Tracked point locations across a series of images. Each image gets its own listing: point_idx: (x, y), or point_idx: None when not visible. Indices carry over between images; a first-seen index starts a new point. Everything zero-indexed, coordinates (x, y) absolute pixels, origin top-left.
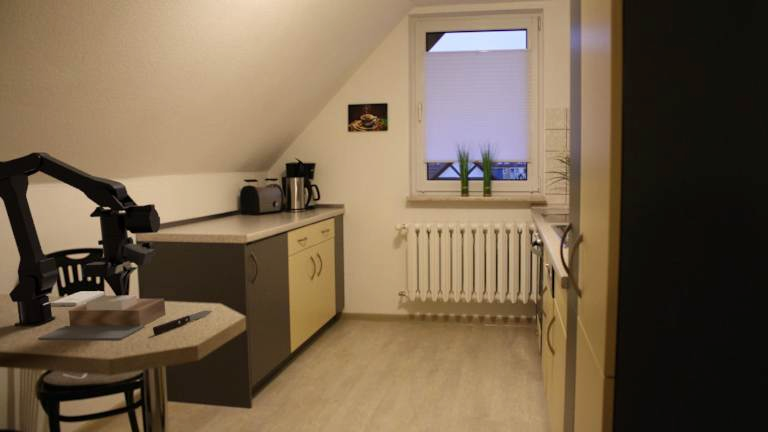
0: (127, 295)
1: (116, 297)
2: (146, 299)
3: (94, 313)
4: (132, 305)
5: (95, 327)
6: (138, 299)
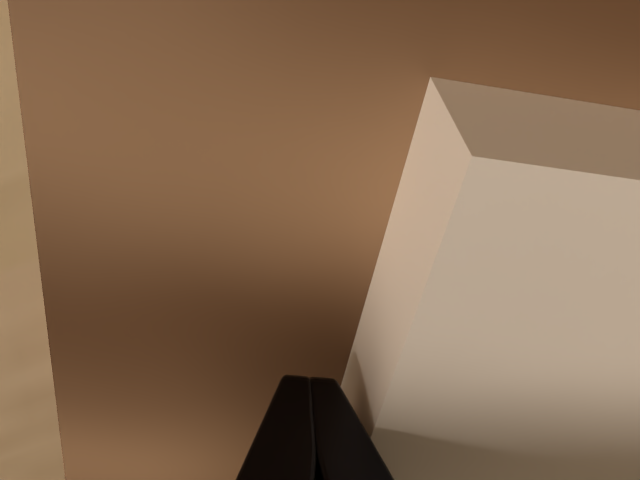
0: (420, 333)
1: (528, 435)
2: (81, 11)
3: None
4: (578, 101)
5: None
6: (89, 182)
